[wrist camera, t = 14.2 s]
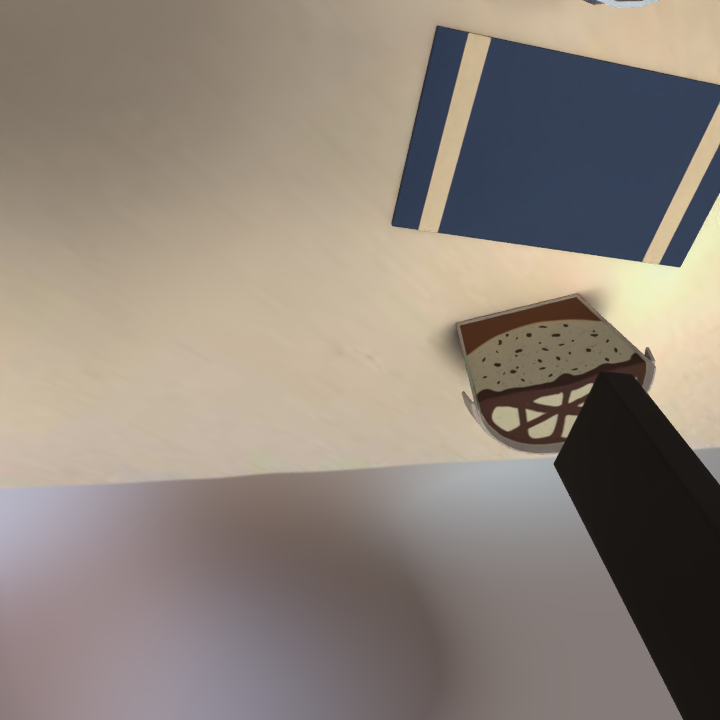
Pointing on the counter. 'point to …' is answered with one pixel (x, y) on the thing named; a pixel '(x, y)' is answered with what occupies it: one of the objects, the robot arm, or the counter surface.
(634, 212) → the cloth
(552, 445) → the food container
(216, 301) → the counter surface
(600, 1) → the wineglass
